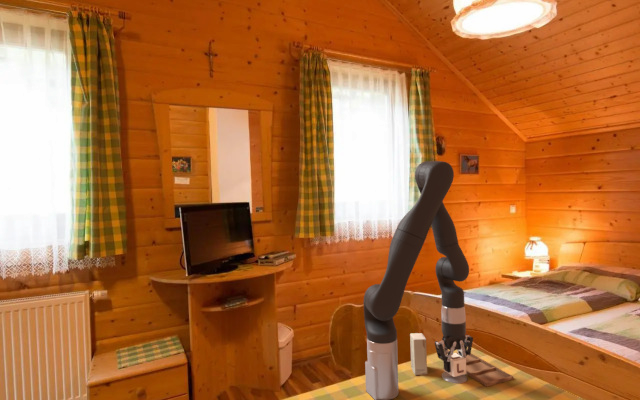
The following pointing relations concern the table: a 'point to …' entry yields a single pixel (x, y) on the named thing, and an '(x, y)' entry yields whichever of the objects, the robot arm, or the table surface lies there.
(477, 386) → the table surface
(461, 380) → the slate coaster
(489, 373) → the tray
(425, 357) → the skincare box
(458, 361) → the letter cube
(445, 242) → the robot arm
